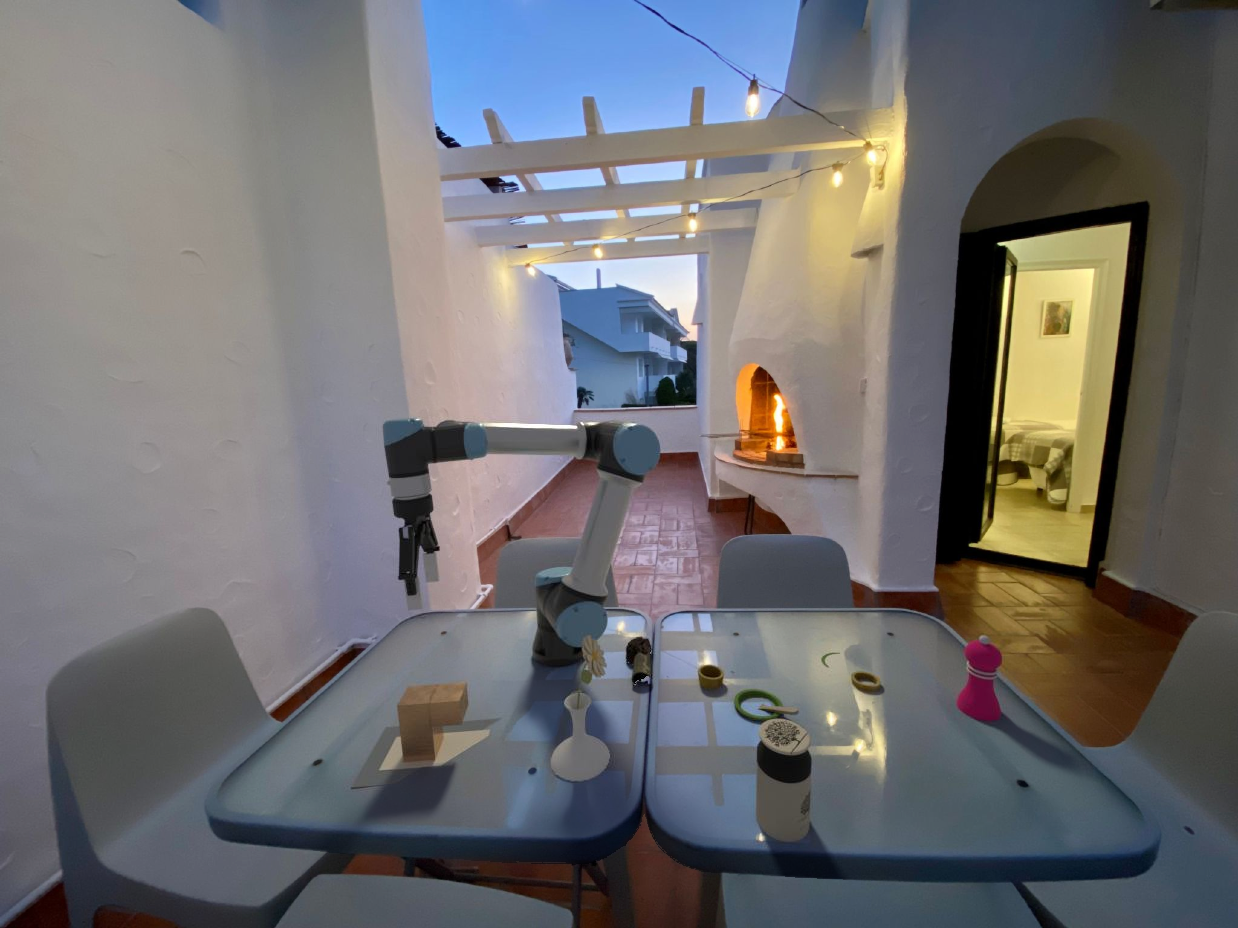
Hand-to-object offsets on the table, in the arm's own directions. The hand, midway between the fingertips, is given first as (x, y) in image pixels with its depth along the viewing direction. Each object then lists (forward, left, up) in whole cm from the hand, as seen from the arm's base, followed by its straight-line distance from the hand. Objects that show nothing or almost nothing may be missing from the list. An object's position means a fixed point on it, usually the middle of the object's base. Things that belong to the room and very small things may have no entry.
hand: (424, 594), depth 103 cm
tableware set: (-79, 0, -30) cm, 84 cm away
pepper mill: (-112, +15, -30) cm, 117 cm away
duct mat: (-3, +10, -29) cm, 31 cm away
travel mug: (-63, +35, -30) cm, 78 cm away
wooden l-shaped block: (0, +10, -28) cm, 30 cm away
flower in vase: (-32, +16, -30) cm, 46 cm away
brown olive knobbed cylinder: (-46, -8, -32) cm, 57 cm away
